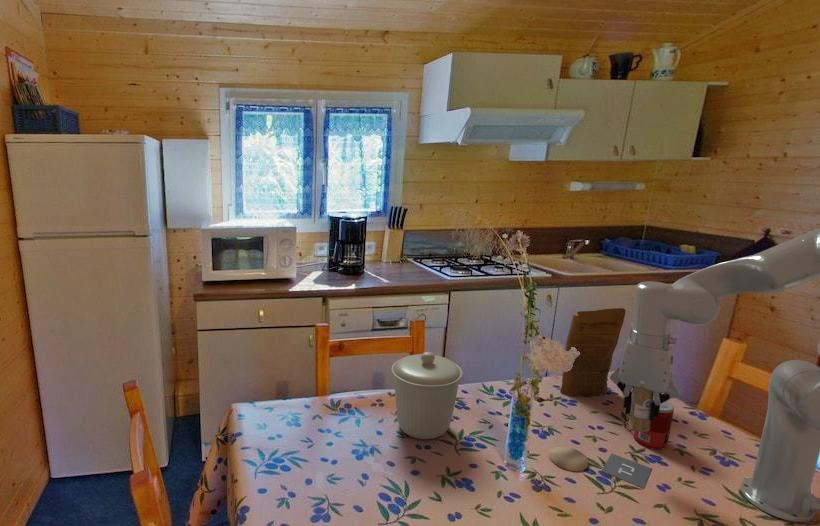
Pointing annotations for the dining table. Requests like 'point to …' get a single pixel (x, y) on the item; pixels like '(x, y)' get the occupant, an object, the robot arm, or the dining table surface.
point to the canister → (425, 394)
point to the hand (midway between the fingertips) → (640, 414)
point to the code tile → (627, 470)
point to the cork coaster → (568, 458)
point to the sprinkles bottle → (640, 408)
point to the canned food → (657, 428)
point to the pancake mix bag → (592, 351)
